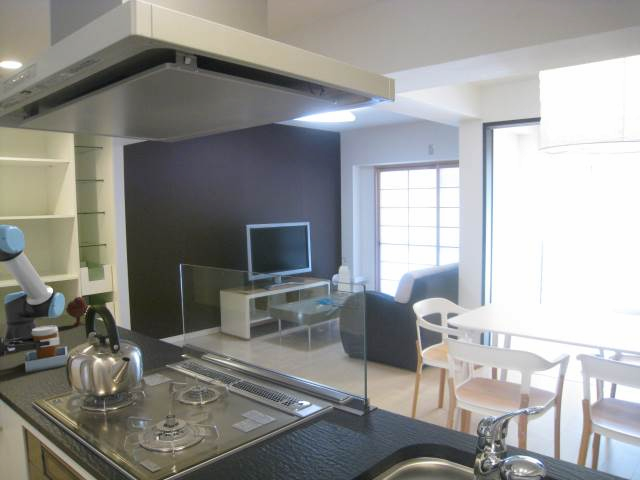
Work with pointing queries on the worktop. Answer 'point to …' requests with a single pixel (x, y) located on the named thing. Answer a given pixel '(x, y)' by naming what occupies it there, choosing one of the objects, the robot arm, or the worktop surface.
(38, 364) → the tote
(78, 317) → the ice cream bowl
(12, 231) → the robot arm
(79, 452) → the worktop surface
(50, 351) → the disposable coffee cup
